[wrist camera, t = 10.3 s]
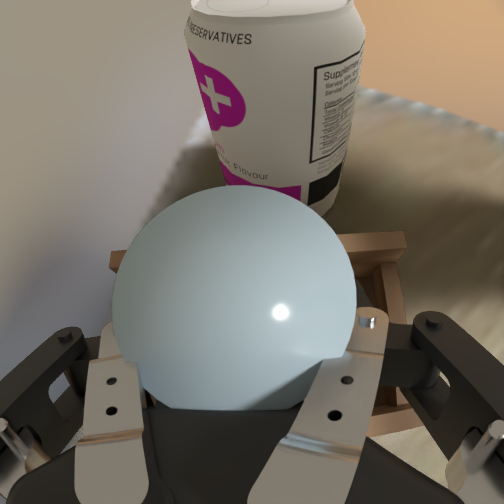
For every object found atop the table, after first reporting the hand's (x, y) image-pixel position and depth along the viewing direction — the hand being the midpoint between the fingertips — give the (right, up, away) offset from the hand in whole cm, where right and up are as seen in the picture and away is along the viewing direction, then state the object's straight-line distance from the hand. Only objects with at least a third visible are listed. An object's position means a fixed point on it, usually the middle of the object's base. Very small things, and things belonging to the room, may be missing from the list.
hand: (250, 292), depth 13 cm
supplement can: (+2, +7, +11) cm, 13 cm away
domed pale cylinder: (0, -3, +3) cm, 5 cm away
